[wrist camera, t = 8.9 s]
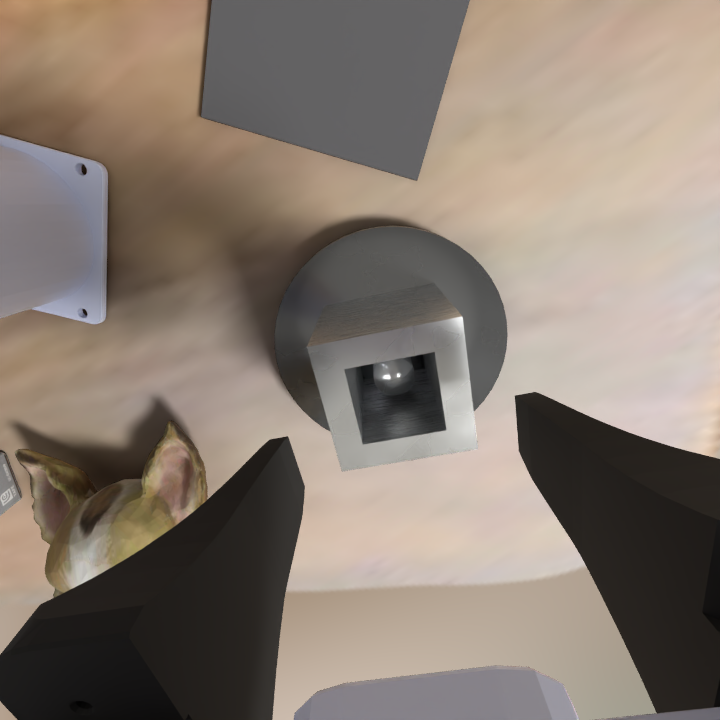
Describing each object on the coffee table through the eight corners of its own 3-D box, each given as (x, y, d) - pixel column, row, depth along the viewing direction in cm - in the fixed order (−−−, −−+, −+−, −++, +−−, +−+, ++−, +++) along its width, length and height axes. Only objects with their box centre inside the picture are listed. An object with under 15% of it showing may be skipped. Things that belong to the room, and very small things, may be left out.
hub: (262, 408, 23) (238, 456, 19) (303, 195, 18) (284, 193, 14) (454, 453, 24) (474, 509, 20) (537, 262, 19) (585, 279, 15)
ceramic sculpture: (45, 746, 21) (-115, 526, 16) (136, 601, 29) (46, 427, 25) (232, 724, 20) (117, 485, 16) (271, 581, 28) (204, 397, 24)
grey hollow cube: (348, 401, 21) (341, 471, 16) (324, 305, 19) (306, 347, 14) (448, 383, 21) (478, 449, 15) (434, 282, 19) (462, 316, 13)
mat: (203, 118, 17) (201, 116, 17) (234, -200, 14) (231, -208, 13) (416, 180, 18) (417, 180, 18) (499, -104, 14) (501, -110, 14)
